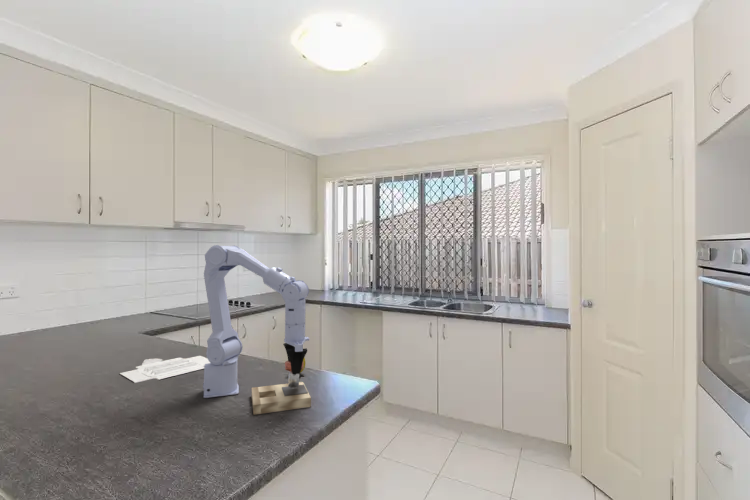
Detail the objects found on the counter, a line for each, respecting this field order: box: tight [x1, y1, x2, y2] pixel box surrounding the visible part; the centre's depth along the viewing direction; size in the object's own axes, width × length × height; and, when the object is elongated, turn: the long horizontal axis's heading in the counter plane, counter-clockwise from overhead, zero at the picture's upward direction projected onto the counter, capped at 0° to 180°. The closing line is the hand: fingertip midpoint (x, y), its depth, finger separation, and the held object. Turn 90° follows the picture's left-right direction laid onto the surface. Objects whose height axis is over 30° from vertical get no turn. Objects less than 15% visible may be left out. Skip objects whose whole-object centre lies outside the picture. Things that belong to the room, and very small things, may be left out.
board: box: [251, 381, 312, 416], centre depth 105 cm, size 15×13×3 cm
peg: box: [284, 359, 304, 388], centre depth 107 cm, size 5×5×7 cm
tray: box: [118, 355, 210, 384], centre depth 134 cm, size 20×28×4 cm
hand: (294, 370), depth 107 cm, fingers closed on peg, 5 cm apart
